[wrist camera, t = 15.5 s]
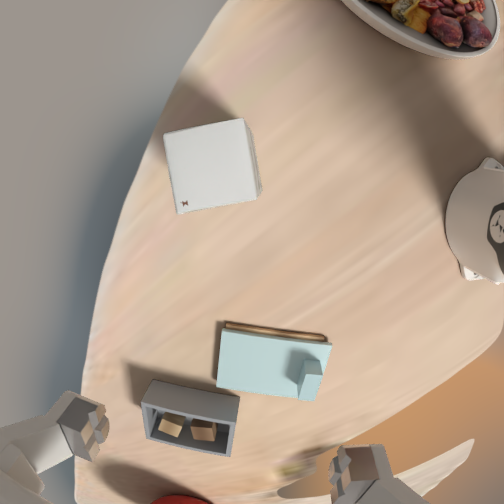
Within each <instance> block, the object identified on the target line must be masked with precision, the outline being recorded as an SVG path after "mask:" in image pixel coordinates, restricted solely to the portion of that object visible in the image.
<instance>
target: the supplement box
mask: <svg viewBox="0 0 504 504" xmlns="http://www.w3.org/2000/svg"><path fill="white" fill-rule="evenodd" d="M163 140H164V147H165V152H166V158H167V164H168V170H169V177H170V181H171V187H172V192H173V197H174V203H175V208H176V213H177V214H183V213H189V212H194V211H199V210H205V209H210V208H215V207H220V206H226V205H231V204H236V203H241V202H247V201H252V200H257V198H258V196H259V195H260V194H261V192H262V185H261V180H260V173H259V167H258V161H257V155H256V149H255V143H254V136H253V134H252V132H251V130H250V128H249V127H248V125H247V123H246V122H245V120H244V118H238V119H233V120H227V121H221V122H216V123H210V124H205V125H200V126H195V127H190V128H185V129H181V130H176V131H172V132H167V133H164V134H163Z"/></svg>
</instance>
